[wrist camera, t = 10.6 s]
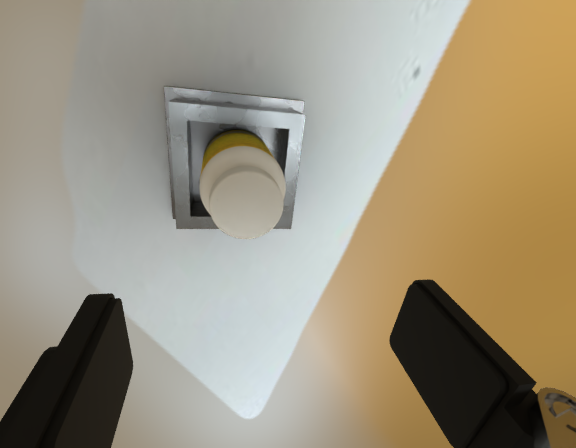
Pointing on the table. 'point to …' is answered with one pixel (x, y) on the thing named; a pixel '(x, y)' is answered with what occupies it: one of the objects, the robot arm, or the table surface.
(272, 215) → the pill bottle
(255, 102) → the socket
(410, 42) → the table surface
